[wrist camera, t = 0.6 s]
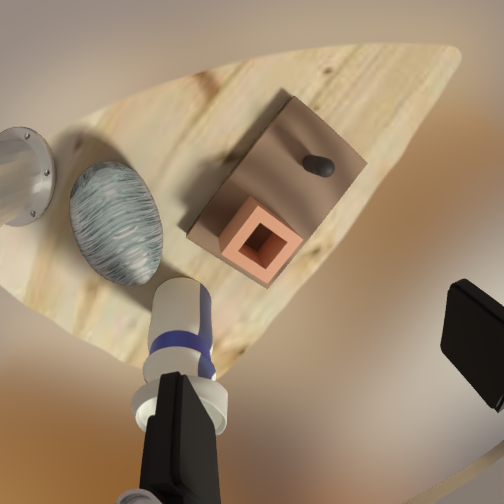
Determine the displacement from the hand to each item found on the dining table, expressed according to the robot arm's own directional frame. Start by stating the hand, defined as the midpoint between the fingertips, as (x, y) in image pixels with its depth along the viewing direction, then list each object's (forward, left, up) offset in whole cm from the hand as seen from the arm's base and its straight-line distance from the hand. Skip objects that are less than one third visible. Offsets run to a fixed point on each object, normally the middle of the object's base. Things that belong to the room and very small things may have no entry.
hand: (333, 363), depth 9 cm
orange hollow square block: (+2, -4, -27) cm, 27 cm away
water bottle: (-6, -14, -28) cm, 32 cm away
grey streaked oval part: (-13, -2, -28) cm, 31 cm away
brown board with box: (+5, 0, -28) cm, 28 cm away
